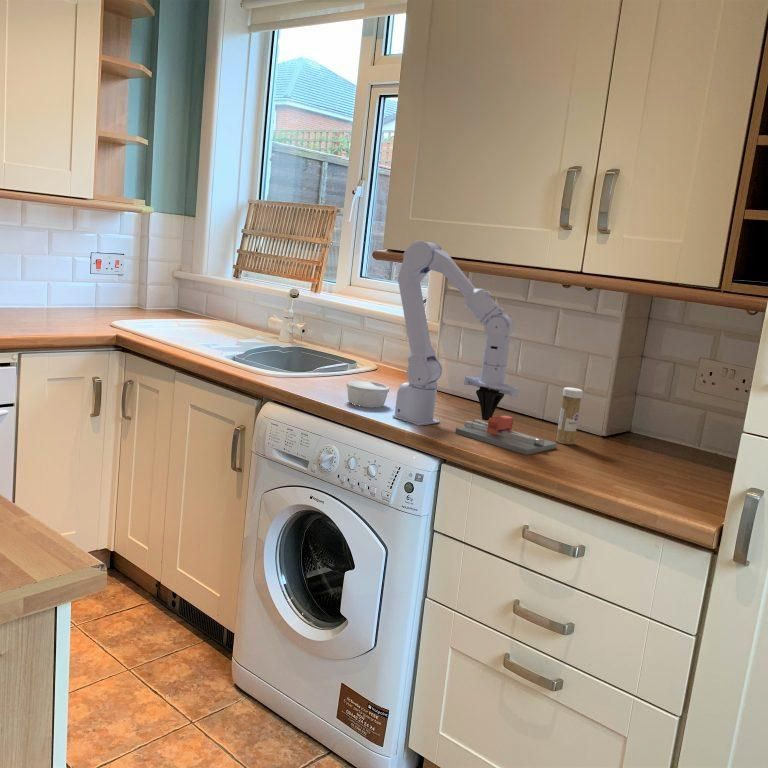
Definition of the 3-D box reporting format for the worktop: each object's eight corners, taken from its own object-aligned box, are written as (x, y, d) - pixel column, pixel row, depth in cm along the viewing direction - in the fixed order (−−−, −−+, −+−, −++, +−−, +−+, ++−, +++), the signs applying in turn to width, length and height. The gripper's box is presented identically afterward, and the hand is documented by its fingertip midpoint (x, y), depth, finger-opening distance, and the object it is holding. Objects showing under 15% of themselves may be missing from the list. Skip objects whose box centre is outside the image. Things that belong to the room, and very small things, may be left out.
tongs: (463, 426, 196) (464, 420, 196) (476, 424, 200) (477, 418, 200) (536, 447, 183) (537, 441, 182) (548, 445, 186) (549, 439, 186)
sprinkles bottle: (571, 446, 193) (580, 391, 191) (552, 442, 196) (561, 387, 193) (576, 443, 197) (585, 389, 195) (558, 439, 200) (567, 385, 197)
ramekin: (395, 406, 215) (397, 387, 214) (369, 411, 206) (372, 390, 206) (362, 398, 222) (364, 379, 221) (336, 401, 213) (338, 382, 212)
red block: (486, 432, 191) (489, 417, 190) (503, 429, 196) (505, 415, 195) (495, 434, 189) (497, 420, 188) (511, 431, 194) (513, 417, 193)
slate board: (455, 433, 193) (455, 428, 193) (486, 427, 203) (487, 423, 202) (526, 455, 180) (527, 449, 180) (556, 448, 190) (556, 443, 189)
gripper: (459, 359, 194) (452, 414, 196) (510, 370, 185) (502, 428, 187) (477, 358, 199) (469, 411, 202) (527, 369, 190) (518, 425, 192)
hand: (486, 419), depth 195 cm, fingers closed
